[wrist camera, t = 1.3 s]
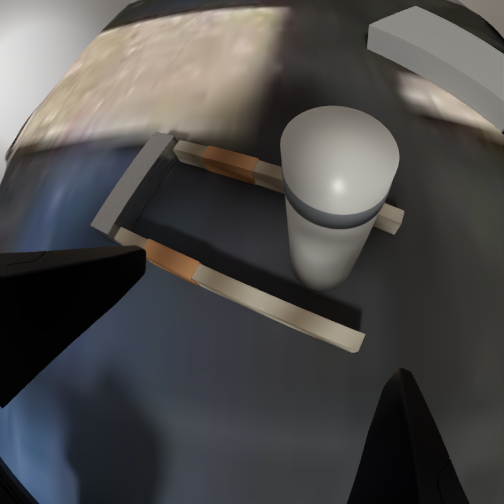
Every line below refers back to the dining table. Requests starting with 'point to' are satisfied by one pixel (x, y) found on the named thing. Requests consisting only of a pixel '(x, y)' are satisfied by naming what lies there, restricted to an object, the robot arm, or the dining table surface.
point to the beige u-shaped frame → (118, 230)
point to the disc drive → (444, 58)
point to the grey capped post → (333, 189)
